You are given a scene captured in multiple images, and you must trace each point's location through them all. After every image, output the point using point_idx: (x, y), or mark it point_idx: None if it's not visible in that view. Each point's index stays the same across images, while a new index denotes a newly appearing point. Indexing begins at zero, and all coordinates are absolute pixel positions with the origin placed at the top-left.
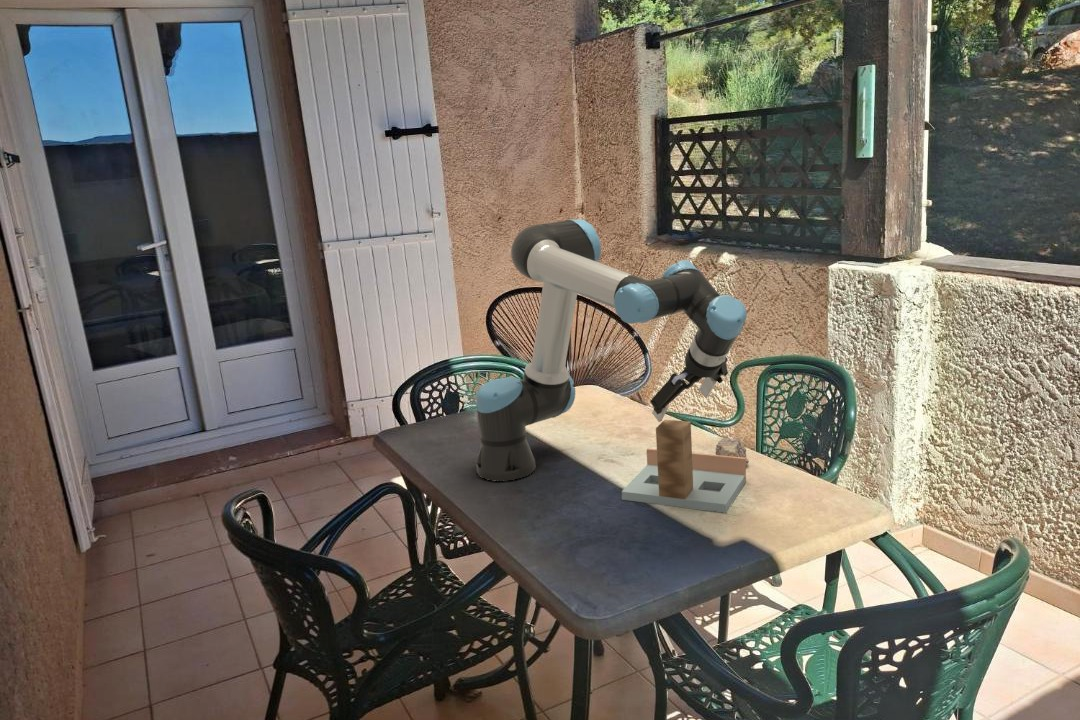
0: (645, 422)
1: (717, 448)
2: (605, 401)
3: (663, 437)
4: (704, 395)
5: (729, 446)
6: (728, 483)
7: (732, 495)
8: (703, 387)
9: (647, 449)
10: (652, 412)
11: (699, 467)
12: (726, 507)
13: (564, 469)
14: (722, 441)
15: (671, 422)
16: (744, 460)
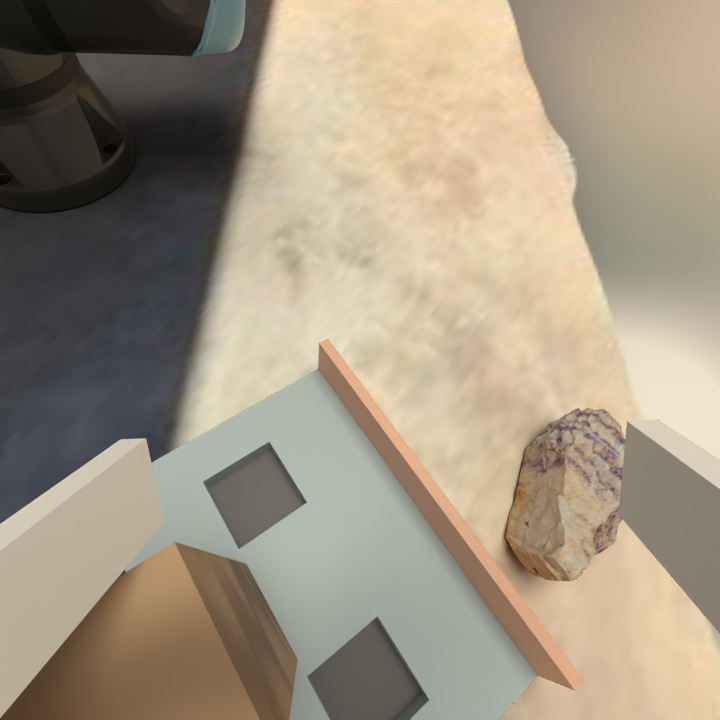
0: (503, 153)
1: (553, 444)
2: (490, 44)
3: None
4: (626, 502)
5: (587, 494)
6: (438, 709)
7: None
8: (677, 498)
9: (321, 346)
10: (112, 447)
11: (426, 514)
12: None
13: (163, 232)
14: (587, 437)
15: (149, 653)
16: (569, 686)
